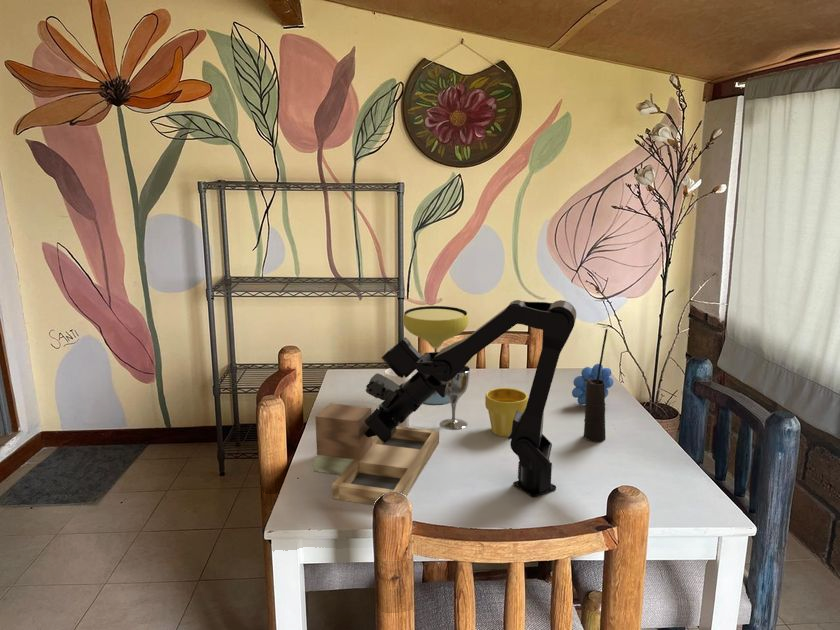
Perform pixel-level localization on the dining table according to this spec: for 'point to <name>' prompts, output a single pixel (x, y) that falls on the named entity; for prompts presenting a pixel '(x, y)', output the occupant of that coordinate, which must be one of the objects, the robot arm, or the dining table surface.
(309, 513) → the dining table surface
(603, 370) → the grapes
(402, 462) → the tray
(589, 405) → the butter churn
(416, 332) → the cocktail glass
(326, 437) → the walnut block
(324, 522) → the dining table surface
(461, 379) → the wine glass
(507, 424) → the plant pot
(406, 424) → the drinking glass
